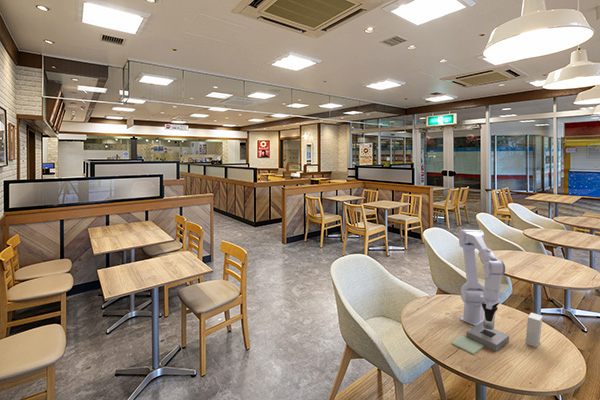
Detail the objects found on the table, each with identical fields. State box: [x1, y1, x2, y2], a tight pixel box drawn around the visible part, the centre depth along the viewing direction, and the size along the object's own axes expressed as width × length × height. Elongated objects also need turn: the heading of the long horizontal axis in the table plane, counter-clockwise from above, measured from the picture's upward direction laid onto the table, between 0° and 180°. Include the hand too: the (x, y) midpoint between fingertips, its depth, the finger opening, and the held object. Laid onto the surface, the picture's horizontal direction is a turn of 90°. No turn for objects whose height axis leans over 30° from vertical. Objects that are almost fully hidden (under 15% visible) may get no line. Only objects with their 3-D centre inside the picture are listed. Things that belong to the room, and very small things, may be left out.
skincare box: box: [525, 312, 543, 348], centre depth 132 cm, size 6×4×12 cm
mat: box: [451, 335, 485, 355], centre depth 131 cm, size 9×9×1 cm
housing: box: [465, 323, 510, 352], centre depth 135 cm, size 12×12×3 cm
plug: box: [482, 312, 496, 330], centre depth 134 cm, size 4×4×7 cm
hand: (489, 318), depth 134 cm, fingers closed on plug, 4 cm apart
